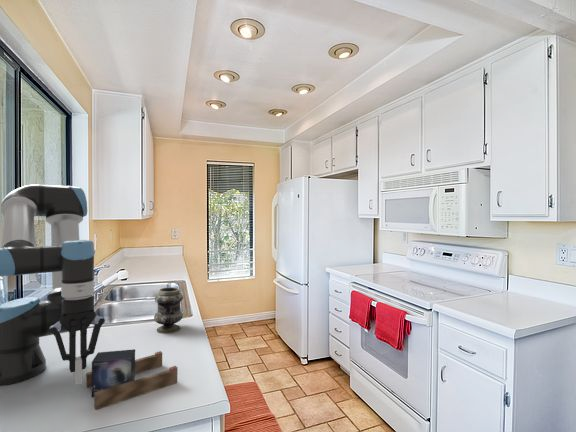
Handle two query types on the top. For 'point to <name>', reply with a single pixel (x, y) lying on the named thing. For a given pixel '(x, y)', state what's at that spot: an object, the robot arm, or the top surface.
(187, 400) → the top surface
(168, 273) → the top surface
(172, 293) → the apothecary jar
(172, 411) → the top surface
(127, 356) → the small box
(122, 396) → the chute
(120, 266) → the top surface
